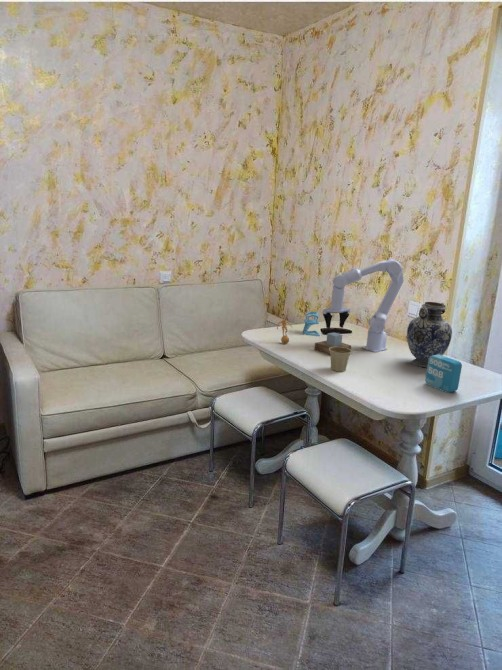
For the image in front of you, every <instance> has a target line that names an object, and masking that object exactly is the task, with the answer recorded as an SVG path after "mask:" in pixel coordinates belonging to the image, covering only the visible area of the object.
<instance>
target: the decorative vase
mask: <svg viewBox="0 0 502 670" xmlns="http://www.w3.org/2000/svg"><path fill="white" fill-rule="evenodd" d="M421 306H422V307H420V308H419V311H418V315H417V316H416V317H414V318H413V319H412V320H410V321H409V324H408V326H407V330H406V331H407V332H406V340H407V341H406V342H407V346H408V349H409V351H410V354H411V355H412V356H413V357H414V359H413V360H412V361H411V363H412V364H413V365H414V366H416V367H419V366H420V367H419V368H424V367H426V368H425V369H427V366H428V360H429V357H430V356H432V355H442V356H444V354H445V352H447V350H448V348H449V346H450V344H451V340H452V336H453V328H452V325H451V323H450V322H449V321H447V320H446V319H444V318H443V316H442V315H444V314H445V312H446V309H447V308H446V304H445V303H444V302H437V301H425V302H424V304H422V305H421Z"/></svg>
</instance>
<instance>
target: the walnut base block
mask: <svg viewBox="0 0 502 670" xmlns="http://www.w3.org/2000/svg"><path fill="white" fill-rule="evenodd" d="M326 341H327V340H323V341H318V342H317V341H316V342H315V343H314V351H317V352H319V353H323V354H325V355H328V356H330V351H329V348H331V347H344V348H348V349H350V350H351V351H352V345H350V344H347V343H344V342H342V344H341V345H339V346H331V345H328V344H326Z"/></svg>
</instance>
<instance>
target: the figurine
mask: <svg viewBox="0 0 502 670" xmlns="http://www.w3.org/2000/svg"><path fill="white" fill-rule="evenodd" d="M279 324H282V326H281V329H282V336H281V339H280V341H281V343H282V344H288V343H289V342H290V338H289V336H288V334H287V332H288V325H287V324H289V326H290V327H291V328H293V326H292V324H291V323H290V322H289V321H288V320H286V319H285V318H284V319H282V320H280V321H279V322H278V323H277V327H276V330H278V329H279Z"/></svg>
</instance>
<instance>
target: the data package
mask: <svg viewBox="0 0 502 670" xmlns="http://www.w3.org/2000/svg"><path fill="white" fill-rule="evenodd" d="M462 368H463V365H462V362H461V361H460V360H456V359H454V358H450V357H448V356H445V355H432V356H430V357H429V360H428V366H427V368H426V373H425V383H426V384H427V385H428V384H429V385H428V386H430V385H431V387H433V388H435V387H436V388H435V389H438V390H440V389H441V390H440V391H442V390H443V392H445V391H446V392H445V393H451V392H456V391H457V390H458V388H459V386H460V379H461V374H462Z"/></svg>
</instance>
